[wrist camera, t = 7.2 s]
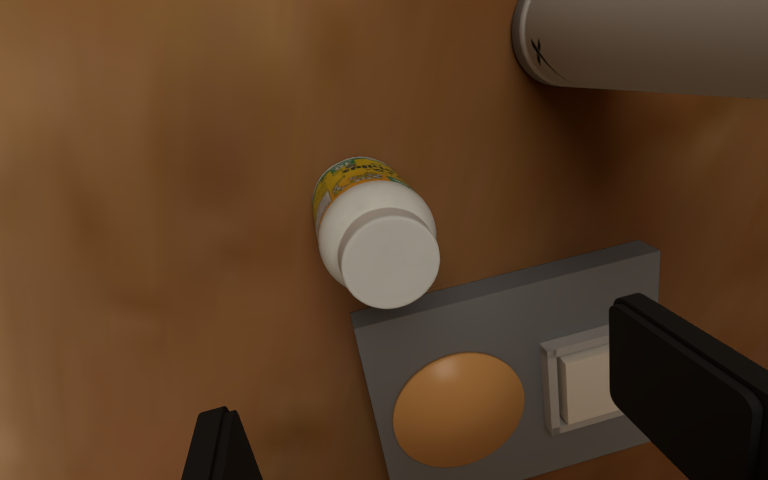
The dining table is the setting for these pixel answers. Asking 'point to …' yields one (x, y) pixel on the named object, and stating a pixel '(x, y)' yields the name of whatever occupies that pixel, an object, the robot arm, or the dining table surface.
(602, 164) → the dining table surface
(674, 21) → the travel mug
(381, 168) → the supplement bottle
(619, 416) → the grey flat rectangular block
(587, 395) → the button
